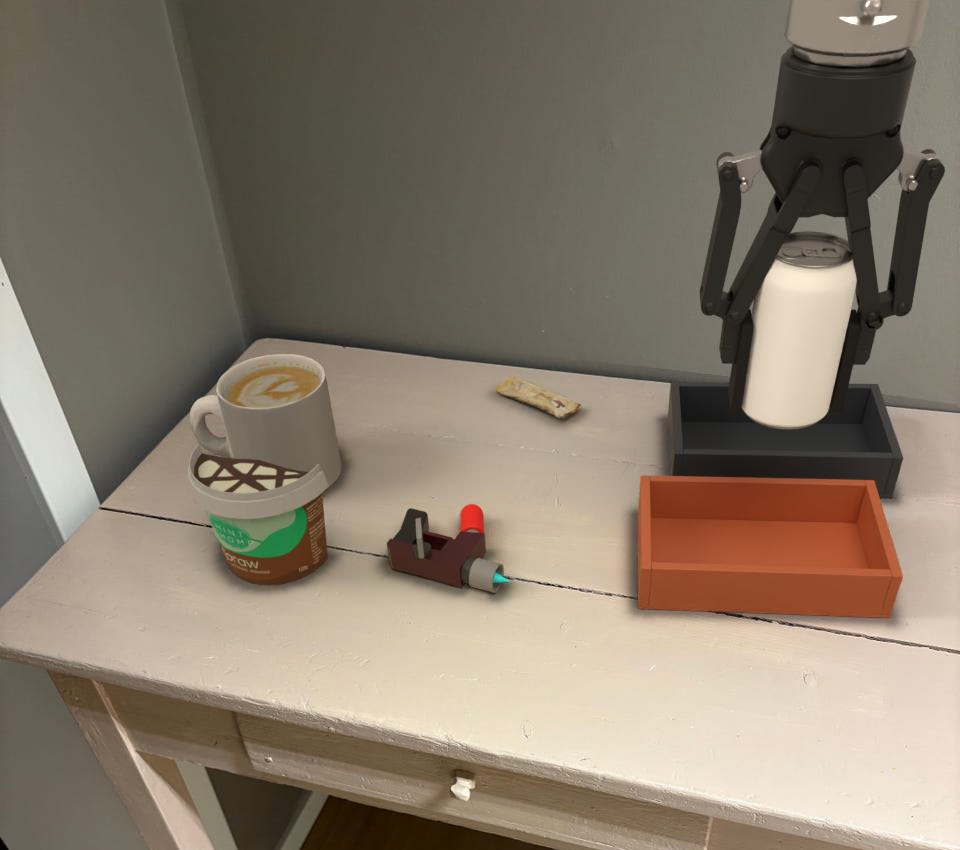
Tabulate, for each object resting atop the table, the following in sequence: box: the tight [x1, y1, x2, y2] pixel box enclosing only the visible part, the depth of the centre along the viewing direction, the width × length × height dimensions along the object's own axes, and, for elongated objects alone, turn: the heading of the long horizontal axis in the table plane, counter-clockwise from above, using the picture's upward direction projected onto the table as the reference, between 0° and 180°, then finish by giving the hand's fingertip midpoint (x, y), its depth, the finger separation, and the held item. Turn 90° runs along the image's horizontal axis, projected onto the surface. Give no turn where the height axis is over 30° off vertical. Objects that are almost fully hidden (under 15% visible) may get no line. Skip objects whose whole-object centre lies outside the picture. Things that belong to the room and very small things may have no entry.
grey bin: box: [666, 381, 904, 499], centre depth 93 cm, size 20×13×4 cm, turn 84°
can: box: [742, 230, 857, 429], centre depth 69 cm, size 6×6×12 cm
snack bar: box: [495, 376, 582, 419], centre depth 103 cm, size 10×2×3 cm
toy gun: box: [386, 503, 511, 593], centre depth 85 cm, size 10×12×5 cm
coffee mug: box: [189, 353, 343, 491], centre depth 94 cm, size 13×10×10 cm
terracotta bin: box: [637, 474, 904, 619], centre depth 82 cm, size 20×13×4 cm, turn 84°
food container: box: [187, 442, 329, 586], centre depth 83 cm, size 12×6×10 cm, turn 70°
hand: (784, 400), depth 73 cm, fingers closed on can, 6 cm apart
